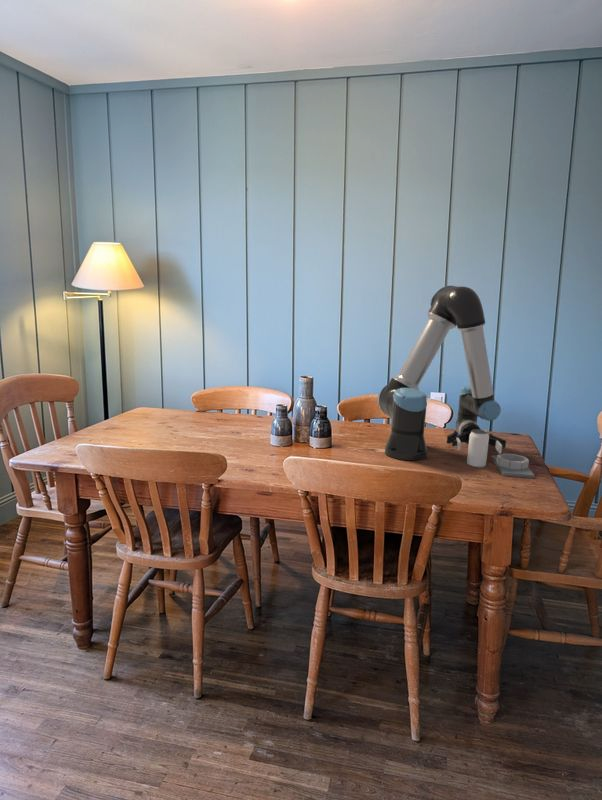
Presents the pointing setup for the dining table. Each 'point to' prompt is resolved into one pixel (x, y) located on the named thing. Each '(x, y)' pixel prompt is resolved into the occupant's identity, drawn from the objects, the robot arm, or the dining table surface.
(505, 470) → the socket plate
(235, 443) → the dining table surface
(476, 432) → the can
